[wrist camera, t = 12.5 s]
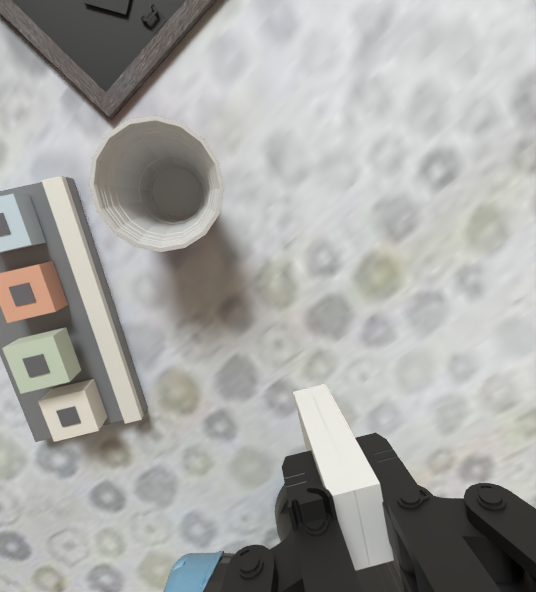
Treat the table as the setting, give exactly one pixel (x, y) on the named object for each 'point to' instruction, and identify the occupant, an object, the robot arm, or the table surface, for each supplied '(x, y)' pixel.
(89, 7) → the picture frame
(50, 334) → the key sage
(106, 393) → the keypad base
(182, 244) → the plastic cup
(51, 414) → the key ivory
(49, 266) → the key terracotta
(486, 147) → the table surface
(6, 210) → the key blue
